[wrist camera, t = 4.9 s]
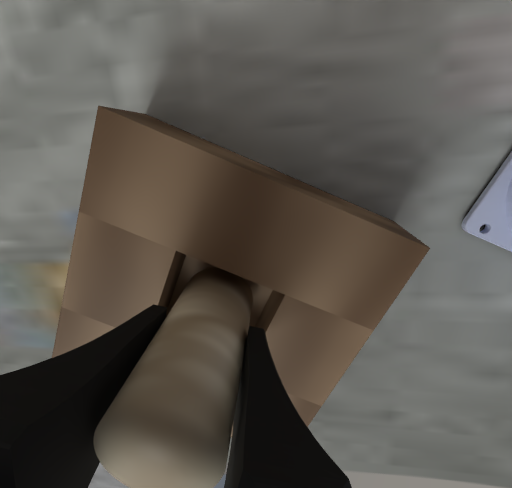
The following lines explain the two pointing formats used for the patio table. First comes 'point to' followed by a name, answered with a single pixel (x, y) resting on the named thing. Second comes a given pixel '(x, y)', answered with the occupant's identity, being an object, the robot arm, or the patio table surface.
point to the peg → (181, 391)
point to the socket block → (229, 249)
